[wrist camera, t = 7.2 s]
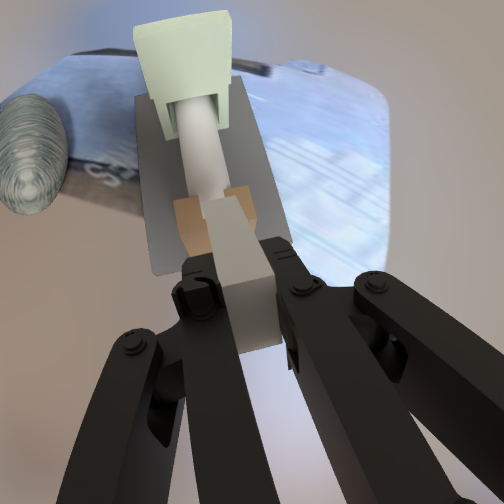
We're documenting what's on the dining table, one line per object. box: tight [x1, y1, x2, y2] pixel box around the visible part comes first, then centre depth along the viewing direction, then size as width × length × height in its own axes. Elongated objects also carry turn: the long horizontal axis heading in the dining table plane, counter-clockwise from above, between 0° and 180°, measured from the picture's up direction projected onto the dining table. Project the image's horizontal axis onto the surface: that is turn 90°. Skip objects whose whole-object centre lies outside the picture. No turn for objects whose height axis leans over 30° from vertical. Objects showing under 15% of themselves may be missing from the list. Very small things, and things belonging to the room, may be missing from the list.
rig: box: [135, 76, 293, 276], centre depth 26 cm, size 12×20×9 cm, turn 14°
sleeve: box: [133, 10, 232, 141], centre depth 21 cm, size 6×4×12 cm, turn 104°
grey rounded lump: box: [0, 94, 68, 215], centre depth 26 cm, size 14×10×10 cm
